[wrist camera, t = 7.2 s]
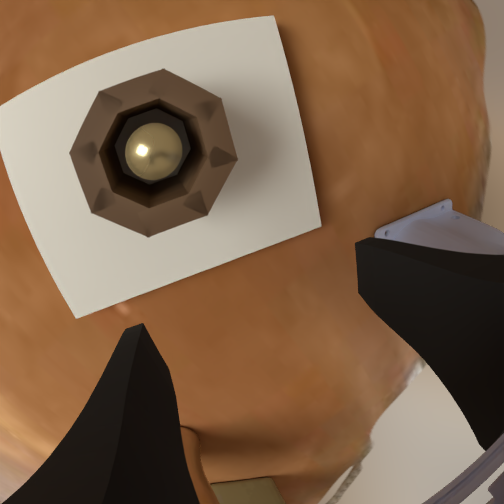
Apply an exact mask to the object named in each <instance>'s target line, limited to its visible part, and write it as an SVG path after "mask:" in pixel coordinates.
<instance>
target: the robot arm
mask: <svg viewBox="0 0 504 504" xmlns="http://www.w3.org/2000/svg"><path fill="white" fill-rule="evenodd" d="M385 232H386V234H385ZM355 250H356V262H357V276H358V293H359V294H360V295H361V297H362V298H363V299H364V300H365V302H366V303H367V304H368V305H369V307H370V308H371V309H372V310H373V311H374V313H376V314H377V315H378V316H379V317H380V318H381V319H382V320H383V321H384V322H385V323H386V324H387V325H388V326H389V327H390V328H392V329H393V330H394V331H395V332H396V333H397V334H398V335H399V336H400V337H401V338H402V339H404V340H405V341H406V342H407V343H408V344H409V345H410V346H411V347H412V348H413V349H414V350H415V351H416V352H417V353H418V354H419V355H420V356H421V357H422V358H423V359H424V360H425V361H426V363H427V364H428V365H429V366H430V367H431V369H432V370H433V371H434V372H435V374H436V375H437V376H438V377H439V379H440V380H441V382H442V383H443V384H444V385H445V387H446V388H447V390H448V391H449V392H450V394H451V395H452V397H453V398H454V400H455V401H456V403H457V405H458V406H459V407H460V409H461V411H462V412H463V414H464V416H465V418H466V419H467V421H468V423H469V425H470V427H471V429H472V430H473V432H474V434H475V436H476V438H477V441H478V443H479V445H480V446H481V447H482V448H483V449H484V450H485V451H486V452H485V453H484V454H482V456H480V457H479V458H478V459H477V460H476V461H475V462H474V463H473V464H472V465H471V466H469V467H468V468H467V469H466V470H465V471H464V472H463V473H461V474H460V475H459V476H458V477H457V478H455V479H454V480H453V481H452V482H451V483H449V484H448V485H447V486H445V487H444V488H443V489H442V490H440V491H439V492H438V493H436V494H435V495H434V496H432V497H431V498H430V499H428V500H427V501H425V502H424V503H423V504H459V503H461V502H462V501H463V500H464V499H465V498H467V497H468V496H469V495H470V494H471V493H472V492H473V491H475V490H476V489H477V488H478V487H479V486H480V485H481V484H482V483H483V482H484V481H485V480H487V479H488V477H490V476H491V475H492V474H493V473H494V472H495V471H496V470H497V468H499V467H500V465H501V464H502V463H503V462H504V233H503V232H501V231H500V230H498V229H496V228H494V227H492V226H490V225H487V224H485V223H483V222H481V221H478V220H476V219H474V218H471V217H469V216H466V215H464V214H462V213H459V212H457V211H454V210H452V201H451V200H450V199H445V200H443V201H441V202H438V203H436V204H434V205H432V206H429V207H427V208H425V209H422V210H420V211H418V212H416V213H413V214H411V215H409V216H406V217H404V218H402V219H399V220H397V221H395V222H392V223H390V224H388V225H385V226H383V227H381V228H379V229H377V230H376V232H375V238H373V237H369V238H366V239H364V240H361V241H359V242H356V243H355ZM488 491H489V492H490V493H491V494H492V495H493V498H492V499H491V500H490V501H489V502H488V503H486V504H504V472H503V473H502V474H501V475H500V476H499V477H498V478H497V479H496V480H495V481H494V482H493V483H492V484H491V486H489V488H488ZM2 504H200V502H199V499H198V497H197V494H196V491H195V488H194V485H193V482H192V479H191V476H190V473H189V470H188V466H187V462H186V458H185V453H184V447H183V441H182V435H181V428H180V421H179V414H178V408H177V401H176V395H175V391H174V387H173V383H172V379H171V375H170V371H169V368H168V366H167V365H166V363H165V361H164V360H163V358H162V356H161V355H160V353H159V351H158V349H157V347H156V346H155V344H154V342H153V340H152V339H151V337H150V335H149V333H148V331H147V329H146V327H145V326H144V324H143V323H142V324H139V325H136V326H133V327H130V328H127V329H125V331H124V332H123V334H122V336H121V338H120V340H119V342H118V344H117V346H116V348H115V350H114V352H113V354H112V356H111V358H110V360H109V362H108V364H107V366H106V368H105V370H104V372H103V374H102V376H101V378H100V380H99V382H98V383H97V385H96V387H95V389H94V391H93V393H92V394H91V396H90V398H89V400H88V402H87V404H86V405H85V407H84V409H83V410H82V412H81V413H80V415H79V417H78V418H77V420H76V421H75V423H74V424H73V426H72V427H71V429H70V430H69V432H68V433H67V434H66V436H65V437H64V438H63V440H62V441H61V442H60V443H59V445H58V446H57V447H56V449H55V450H54V451H53V453H52V454H51V455H50V456H49V458H48V459H47V460H46V461H45V462H44V463H43V465H42V466H41V467H40V468H39V469H38V470H37V471H36V472H35V473H34V474H33V475H32V476H31V477H30V479H29V480H28V481H27V482H26V483H25V484H24V485H23V486H21V487H20V488H19V489H18V490H17V491H16V492H15V493H14V494H12V495H11V496H10V497H9V498H8V499H7V500H6V501H4V502H3V503H2Z"/></svg>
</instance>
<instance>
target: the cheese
mask: <svg viewBox="0 0 504 504" xmlns="http://www.w3.org/2000/svg"><path fill="white" fill-rule="evenodd" d="M210 485H211V487H212V489H213V491H214V492H215V494H216V496H217V498H218V500H219V501H220V503H221V504H286V503H285V502H284V500H283V498H282V496H281V494H280V492H279V490H278V489H277V487H276V485H275V483H274V481H273V479H271V478H269V477H265V478H256V479H249V480H242V481H233V482H224V483H215V484H210Z"/></svg>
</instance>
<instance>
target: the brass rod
mask: <svg viewBox="0 0 504 504" xmlns="http://www.w3.org/2000/svg"><path fill="white" fill-rule="evenodd" d="M125 157H126V162H127V164H128V166H129V168H130V169H131V170H132V172H133V173H134V174H136V175H137V176H139V177H141V178H143V179H147V180H157V179H161V178H164V177H166V176H168V175H169V174H171V173H172V172H173V171H174V170H175V169H176V168H177V166H178V164H179V162H180V160H181V157H182V143H181V140H180V138H179V136H178V134H177V133H176V132H175V131H174V130H173V129H172V128H170V127H169V126H167V125H164V124H161V123H150V124H146V125H143V126H141V127H140V128H138V129H137V130H135V131H134V132H133V133H132V135H131V136H130V138H129V139H128V142H127V144H126V149H125Z"/></svg>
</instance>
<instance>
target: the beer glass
mask: <svg viewBox="0 0 504 504" xmlns="http://www.w3.org/2000/svg"><path fill="white" fill-rule="evenodd" d="M180 428H181V435H182V441H183V447H184V453H185V458H186V462H187V466H188V470H189V473H190V476H191V479H192V482H193V485H194V488H195V491H196V494H197V497H198V499H199V502H200V504H221V503H220V501H219V500H218V498H217V496H216V494H215V492H214V491H213V489H212V487H211V485H210V483H209V481H208V479H207V477H206V475H205V472H204V470H203V466H202V462H201V447H200V439H199V437H198V435H197V434H196V433H195V432H194V431H192V430H190V429H188V428H185V427H181V426H180Z"/></svg>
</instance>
